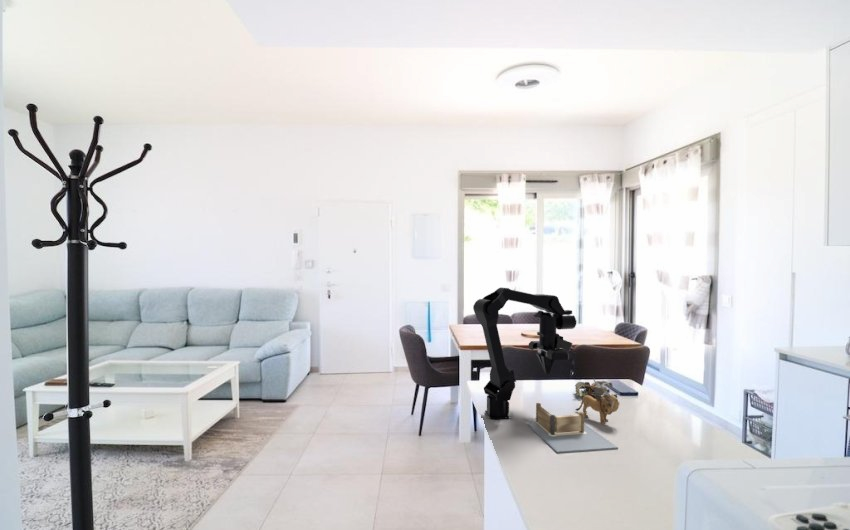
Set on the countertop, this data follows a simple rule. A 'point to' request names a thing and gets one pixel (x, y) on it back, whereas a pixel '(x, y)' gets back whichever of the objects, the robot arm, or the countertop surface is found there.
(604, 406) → the lion figurine
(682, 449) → the countertop surface
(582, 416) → the hinged plank
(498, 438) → the countertop surface
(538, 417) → the fixed plank
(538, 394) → the countertop surface
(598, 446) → the card
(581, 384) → the figurine
